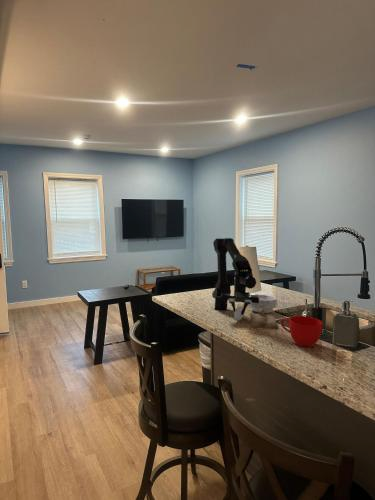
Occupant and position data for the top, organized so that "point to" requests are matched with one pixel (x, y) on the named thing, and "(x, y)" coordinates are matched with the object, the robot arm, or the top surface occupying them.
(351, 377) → the top surface
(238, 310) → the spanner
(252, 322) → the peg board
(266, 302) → the paper bowls
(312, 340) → the ceramic cup
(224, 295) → the robot arm
